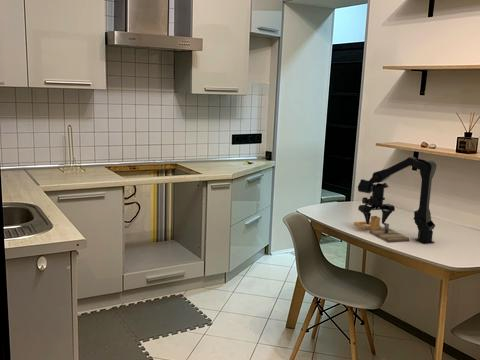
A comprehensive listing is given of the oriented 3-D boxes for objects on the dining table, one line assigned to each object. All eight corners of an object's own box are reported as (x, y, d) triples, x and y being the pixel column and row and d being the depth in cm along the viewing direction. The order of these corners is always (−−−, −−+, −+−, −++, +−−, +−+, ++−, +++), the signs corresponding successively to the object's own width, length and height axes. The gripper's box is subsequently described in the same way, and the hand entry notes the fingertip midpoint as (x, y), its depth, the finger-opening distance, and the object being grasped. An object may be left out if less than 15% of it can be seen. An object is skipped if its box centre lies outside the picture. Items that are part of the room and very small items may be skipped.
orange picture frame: (353, 224, 257) (354, 211, 256) (369, 223, 260) (370, 210, 259) (368, 231, 244) (369, 218, 243) (384, 230, 247) (386, 217, 246)
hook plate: (409, 241, 231) (410, 229, 229) (388, 242, 227) (389, 230, 226) (389, 231, 245) (390, 220, 244) (369, 232, 242) (370, 221, 241)
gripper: (383, 191, 255) (381, 219, 258) (353, 192, 249) (351, 220, 252) (396, 195, 244) (393, 224, 247) (365, 196, 238) (362, 226, 241)
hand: (375, 224), depth 247 cm, fingers open, 9 cm apart
